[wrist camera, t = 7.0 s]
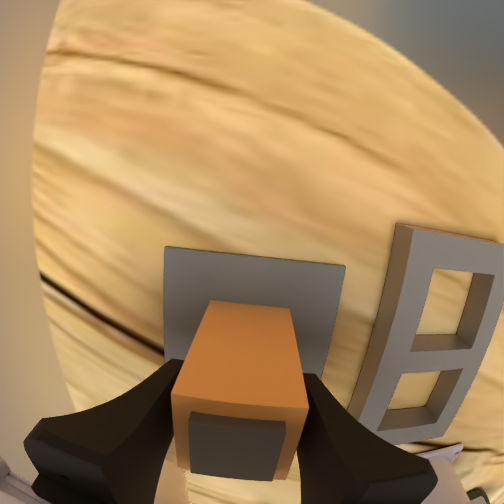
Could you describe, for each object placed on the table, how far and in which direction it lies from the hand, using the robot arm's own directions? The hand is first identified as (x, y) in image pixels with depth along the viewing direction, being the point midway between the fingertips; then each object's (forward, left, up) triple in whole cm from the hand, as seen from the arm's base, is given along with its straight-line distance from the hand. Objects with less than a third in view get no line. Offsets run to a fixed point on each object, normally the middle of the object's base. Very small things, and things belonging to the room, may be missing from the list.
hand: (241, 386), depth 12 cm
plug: (0, 0, -4) cm, 4 cm away
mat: (0, 0, -4) cm, 4 cm away
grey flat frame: (0, -11, -4) cm, 12 cm away
